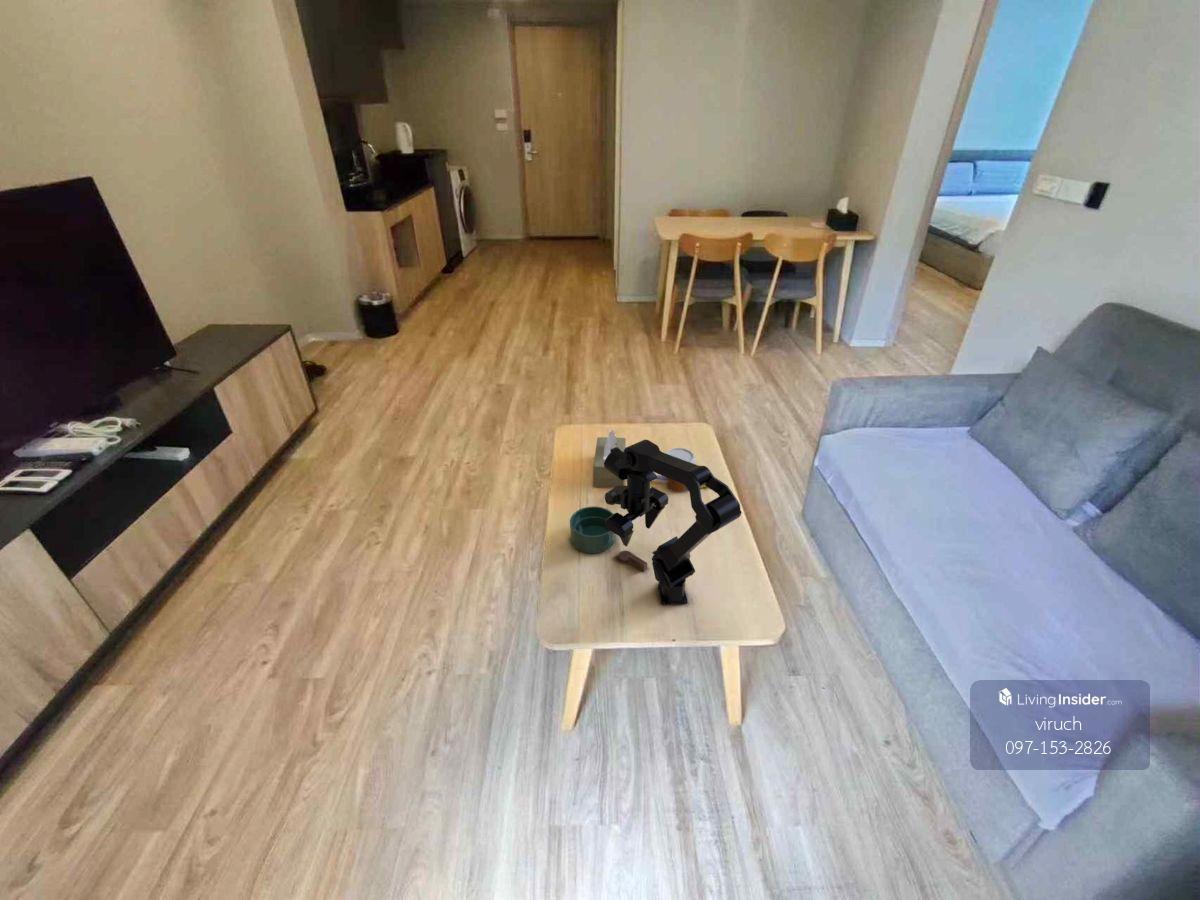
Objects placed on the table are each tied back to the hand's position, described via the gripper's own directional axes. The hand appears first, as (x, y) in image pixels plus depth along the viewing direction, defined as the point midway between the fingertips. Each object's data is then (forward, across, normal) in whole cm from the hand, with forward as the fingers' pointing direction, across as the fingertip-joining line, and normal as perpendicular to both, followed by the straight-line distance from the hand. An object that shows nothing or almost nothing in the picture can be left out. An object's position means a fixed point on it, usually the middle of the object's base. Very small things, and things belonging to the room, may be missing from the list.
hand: (636, 536), depth 139 cm
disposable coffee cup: (+3, -36, -12) cm, 38 cm away
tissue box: (+9, -27, -34) cm, 44 cm away
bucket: (+9, +1, -15) cm, 18 cm away
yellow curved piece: (+9, -38, -13) cm, 42 cm away
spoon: (+9, 0, -1) cm, 9 cm away
